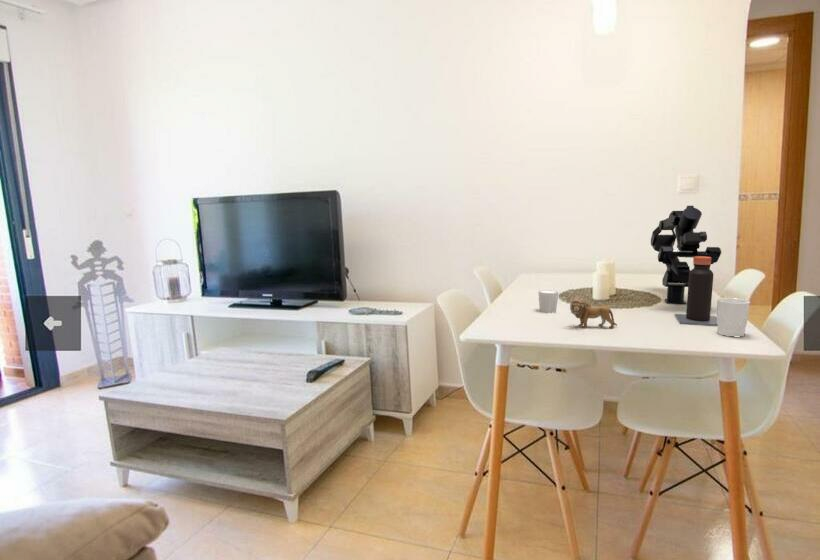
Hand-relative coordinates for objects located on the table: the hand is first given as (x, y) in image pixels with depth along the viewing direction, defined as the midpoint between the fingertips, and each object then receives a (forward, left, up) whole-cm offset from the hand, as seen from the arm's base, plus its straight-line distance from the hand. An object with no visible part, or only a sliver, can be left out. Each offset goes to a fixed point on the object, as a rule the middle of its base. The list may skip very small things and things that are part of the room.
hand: (692, 274), depth 171 cm
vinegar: (+10, +1, -13) cm, 17 cm away
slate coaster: (+11, +1, -14) cm, 17 cm away
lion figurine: (+28, -31, -14) cm, 44 cm away
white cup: (+26, +7, -14) cm, 30 cm away
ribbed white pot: (+9, -46, -14) cm, 49 cm away
